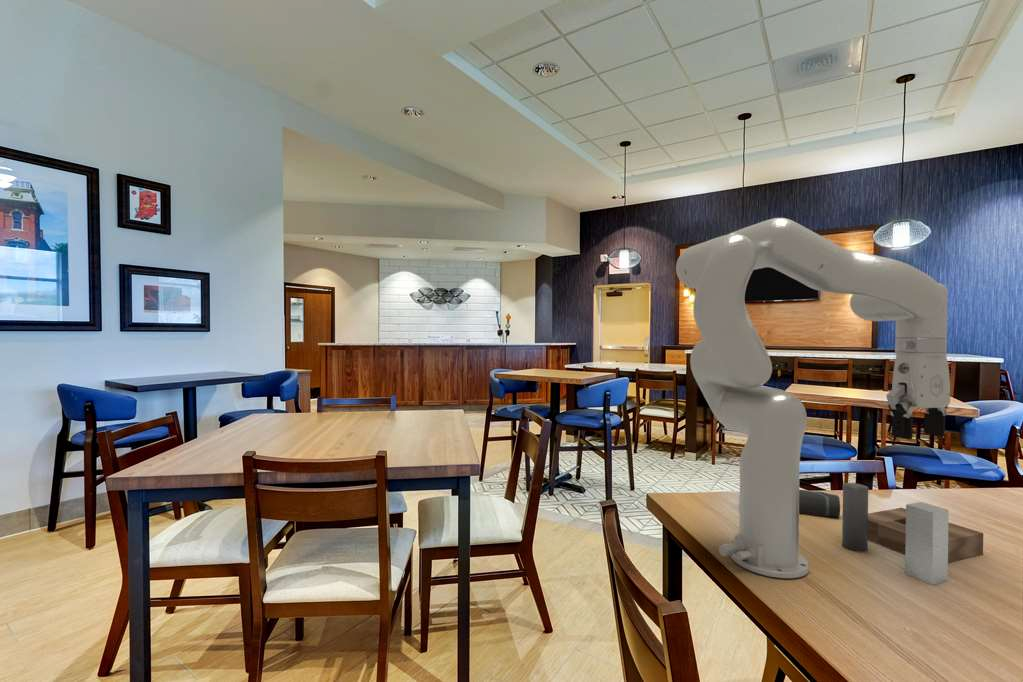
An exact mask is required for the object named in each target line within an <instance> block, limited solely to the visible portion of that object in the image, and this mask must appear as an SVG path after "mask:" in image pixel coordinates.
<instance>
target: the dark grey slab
mask: <svg viewBox="0 0 1023 682" xmlns="http://www.w3.org/2000/svg"><path fill="white" fill-rule="evenodd" d="M800 512H801V513H802V514H807V515H812V514H813V515H814V516H819V515H820V516H819V517H831V518H840V516H841V501H840V496H838V494H833V493H827V492H822V491H814V490H805V489H799V513H800Z"/></svg>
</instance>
